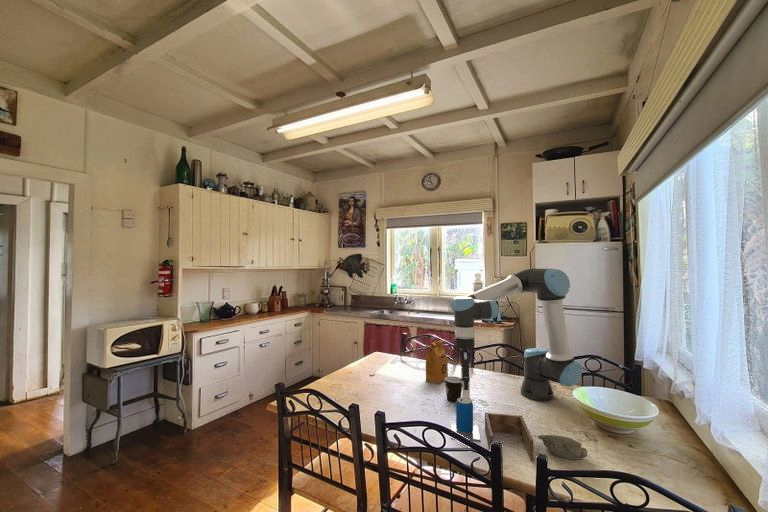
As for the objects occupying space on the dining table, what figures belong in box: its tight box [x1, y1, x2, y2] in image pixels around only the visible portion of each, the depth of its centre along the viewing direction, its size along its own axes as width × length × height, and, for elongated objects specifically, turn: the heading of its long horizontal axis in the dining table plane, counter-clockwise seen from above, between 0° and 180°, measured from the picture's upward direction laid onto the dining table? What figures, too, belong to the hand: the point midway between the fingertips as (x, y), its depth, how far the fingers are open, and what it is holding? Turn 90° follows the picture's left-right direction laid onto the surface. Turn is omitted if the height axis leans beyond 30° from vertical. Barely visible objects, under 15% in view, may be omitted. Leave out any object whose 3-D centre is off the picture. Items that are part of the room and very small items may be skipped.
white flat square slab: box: [450, 422, 481, 442], centre depth 130 cm, size 11×11×1 cm
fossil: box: [537, 434, 589, 460], centre depth 116 cm, size 14×10×10 cm
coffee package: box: [425, 339, 449, 384], centre depth 185 cm, size 10×12×22 cm
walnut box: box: [484, 411, 534, 462], centre depth 121 cm, size 14×18×7 cm
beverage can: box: [455, 396, 474, 434], centre depth 130 cm, size 6×6×12 cm
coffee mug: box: [444, 375, 462, 404], centre depth 161 cm, size 12×9×10 cm
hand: (465, 390), depth 130 cm, fingers open, 13 cm apart
